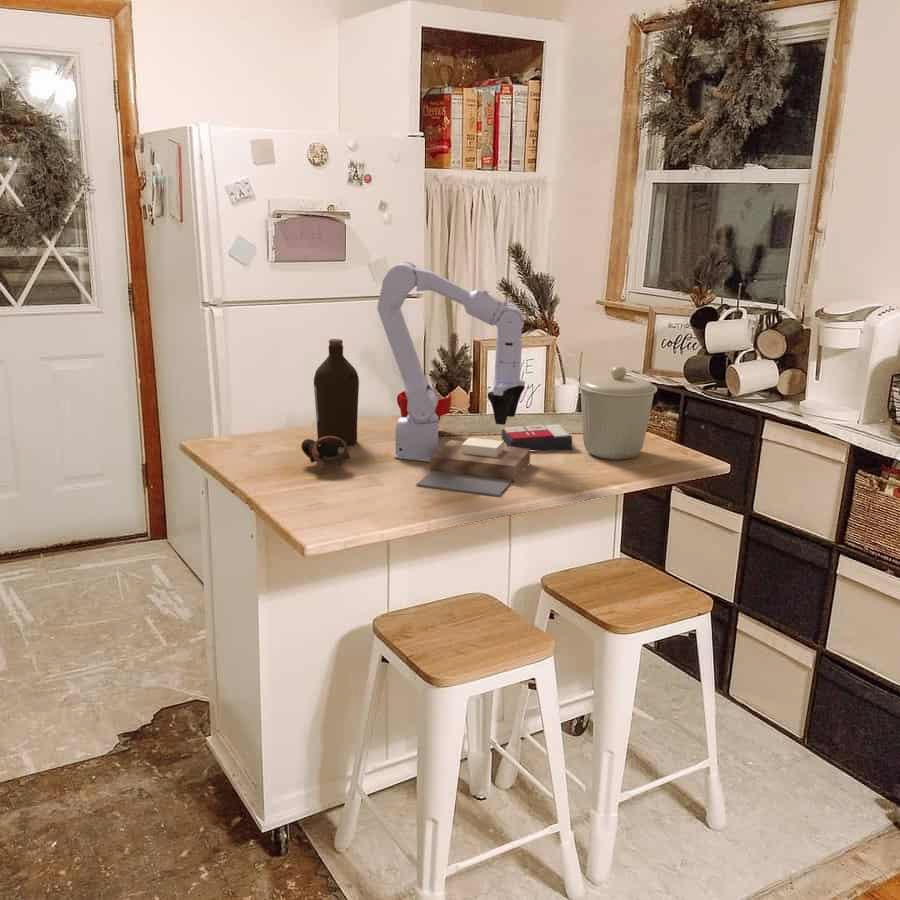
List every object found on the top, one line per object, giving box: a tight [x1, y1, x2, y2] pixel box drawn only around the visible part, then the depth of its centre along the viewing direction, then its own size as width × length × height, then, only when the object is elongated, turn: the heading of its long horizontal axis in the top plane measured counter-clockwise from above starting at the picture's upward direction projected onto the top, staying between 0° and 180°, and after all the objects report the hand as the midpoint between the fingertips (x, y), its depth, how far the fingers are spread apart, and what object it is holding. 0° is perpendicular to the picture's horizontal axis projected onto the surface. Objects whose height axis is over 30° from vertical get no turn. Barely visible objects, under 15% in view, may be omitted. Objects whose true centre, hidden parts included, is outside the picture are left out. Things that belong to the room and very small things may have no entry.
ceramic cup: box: [396, 388, 452, 424], centre depth 226 cm, size 13×17×10 cm
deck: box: [429, 439, 531, 482], centre depth 199 cm, size 19×14×4 cm
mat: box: [415, 471, 512, 497], centre depth 189 cm, size 18×10×1 cm, turn 72°
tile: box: [461, 437, 505, 457], centre depth 199 cm, size 8×6×2 cm
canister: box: [577, 365, 658, 461], centre depth 209 cm, size 18×18×21 cm
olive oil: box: [313, 338, 360, 449], centre depth 213 cm, size 11×11×25 cm
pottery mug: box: [301, 436, 352, 475], centre depth 197 cm, size 12×10×8 cm
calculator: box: [501, 423, 573, 451], centre depth 218 cm, size 11×4×15 cm
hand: (505, 420), depth 203 cm, fingers open, 7 cm apart
